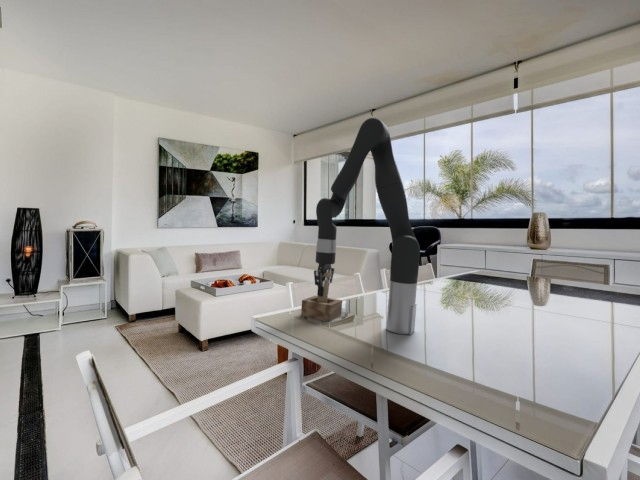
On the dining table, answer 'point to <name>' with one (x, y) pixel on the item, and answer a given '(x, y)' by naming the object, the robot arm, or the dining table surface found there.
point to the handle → (325, 294)
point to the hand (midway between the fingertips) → (322, 295)
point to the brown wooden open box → (321, 308)
